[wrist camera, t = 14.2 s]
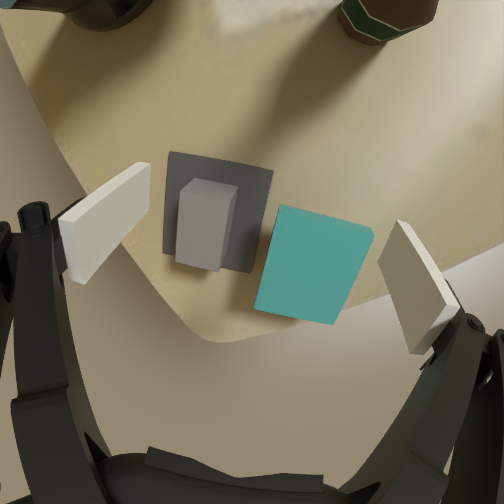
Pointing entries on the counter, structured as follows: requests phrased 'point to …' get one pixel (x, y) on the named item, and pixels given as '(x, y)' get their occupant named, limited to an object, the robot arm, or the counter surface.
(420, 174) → the counter surface
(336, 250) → the board
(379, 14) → the beer bottle
